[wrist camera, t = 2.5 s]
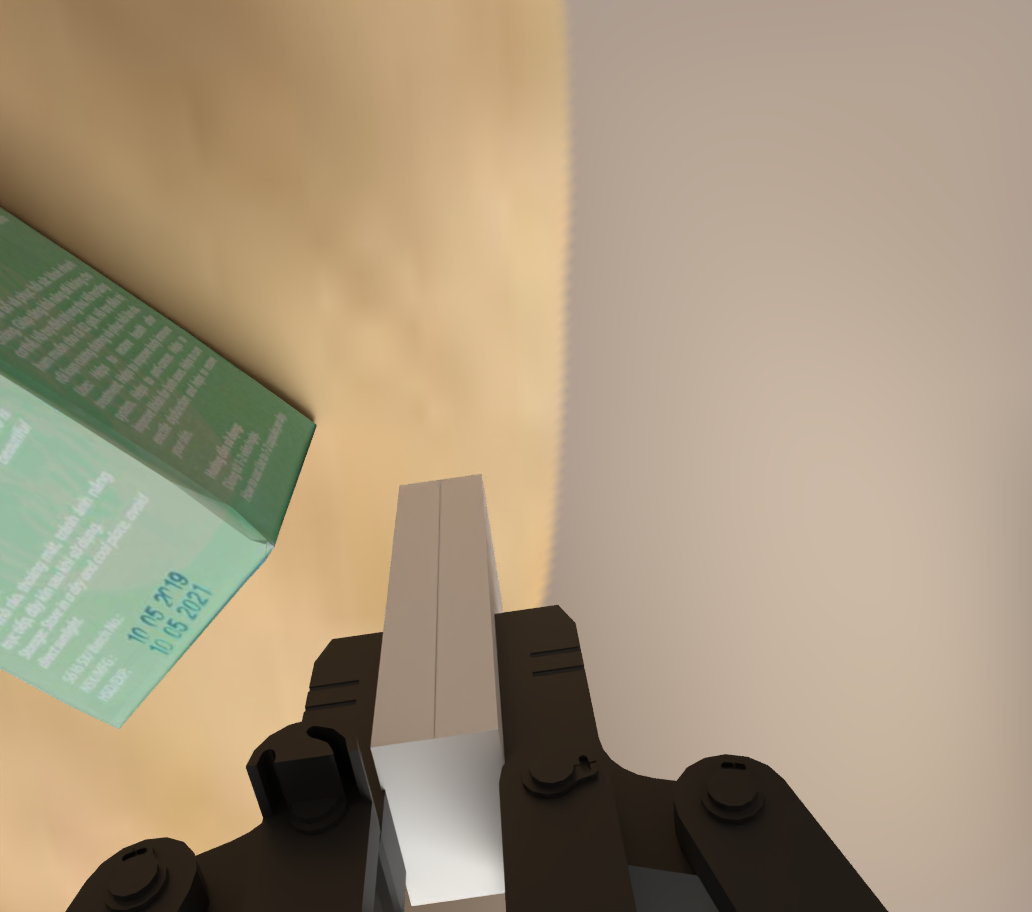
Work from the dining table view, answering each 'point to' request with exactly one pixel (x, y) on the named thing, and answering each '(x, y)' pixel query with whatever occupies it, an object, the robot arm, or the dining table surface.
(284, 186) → the dining table surface
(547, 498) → the dining table surface
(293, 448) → the box
